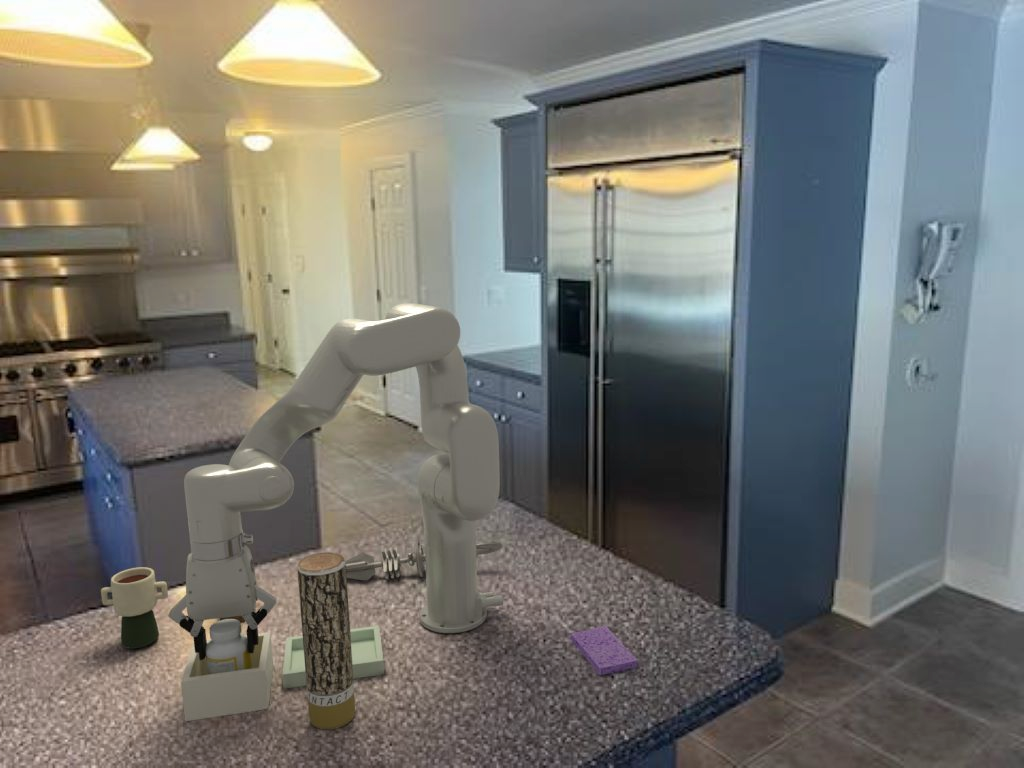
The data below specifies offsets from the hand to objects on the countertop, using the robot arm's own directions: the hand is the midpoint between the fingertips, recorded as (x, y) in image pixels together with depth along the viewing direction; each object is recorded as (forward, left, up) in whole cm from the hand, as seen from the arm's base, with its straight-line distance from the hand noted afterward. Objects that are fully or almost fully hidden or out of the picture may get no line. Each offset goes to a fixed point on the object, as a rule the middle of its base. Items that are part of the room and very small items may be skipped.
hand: (227, 651), depth 122 cm
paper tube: (-16, +11, -7) cm, 20 cm away
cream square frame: (0, 0, -7) cm, 7 cm away
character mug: (+18, -21, -7) cm, 29 cm away
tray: (-16, -5, -7) cm, 18 cm away
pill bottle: (0, 0, -7) cm, 7 cm away
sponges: (-61, +4, -8) cm, 62 cm away
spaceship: (-34, -35, -7) cm, 50 cm away
